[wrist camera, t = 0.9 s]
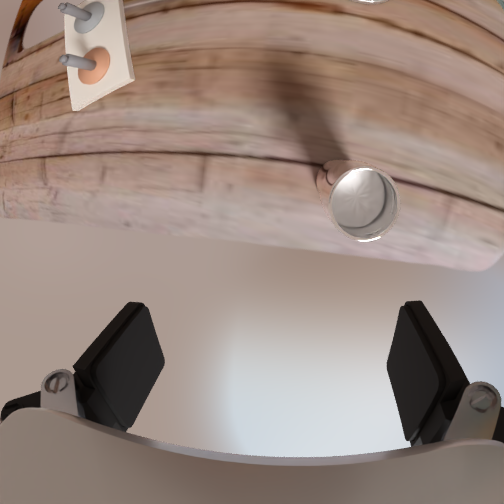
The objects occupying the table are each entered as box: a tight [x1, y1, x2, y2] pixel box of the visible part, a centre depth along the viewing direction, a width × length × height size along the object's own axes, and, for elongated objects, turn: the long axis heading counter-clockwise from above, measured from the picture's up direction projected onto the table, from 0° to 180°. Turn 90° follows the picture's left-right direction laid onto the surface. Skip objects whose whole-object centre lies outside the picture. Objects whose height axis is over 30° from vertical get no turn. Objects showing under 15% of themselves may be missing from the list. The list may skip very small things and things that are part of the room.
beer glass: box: [316, 159, 401, 241], centre depth 29 cm, size 7×7×15 cm
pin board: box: [58, 0, 135, 111], centre depth 27 cm, size 22×12×10 cm, turn 13°
